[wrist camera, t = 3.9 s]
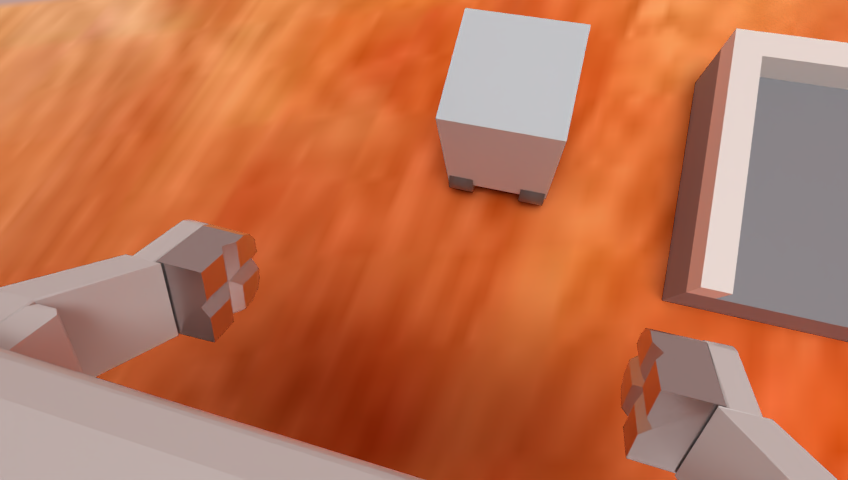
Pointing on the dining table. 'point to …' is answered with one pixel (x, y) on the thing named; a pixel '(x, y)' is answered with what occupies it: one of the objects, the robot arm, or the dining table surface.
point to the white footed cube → (509, 101)
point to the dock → (767, 186)
